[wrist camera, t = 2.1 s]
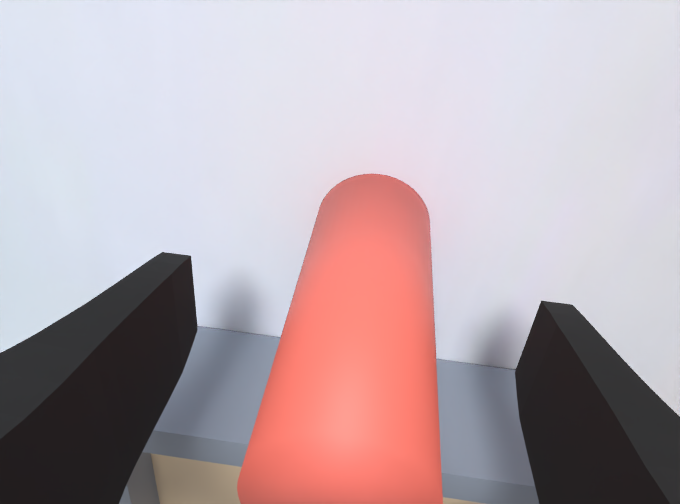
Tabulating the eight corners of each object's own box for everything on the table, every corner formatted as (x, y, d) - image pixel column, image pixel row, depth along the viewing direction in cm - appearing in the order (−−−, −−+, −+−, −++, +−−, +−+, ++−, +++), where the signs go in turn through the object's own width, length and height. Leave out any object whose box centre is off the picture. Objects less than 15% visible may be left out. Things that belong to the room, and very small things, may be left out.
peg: (438, 181, 14) (462, 455, 7) (419, 277, 15) (424, 571, 9) (320, 167, 14) (234, 421, 7) (314, 263, 15) (239, 543, 9)
